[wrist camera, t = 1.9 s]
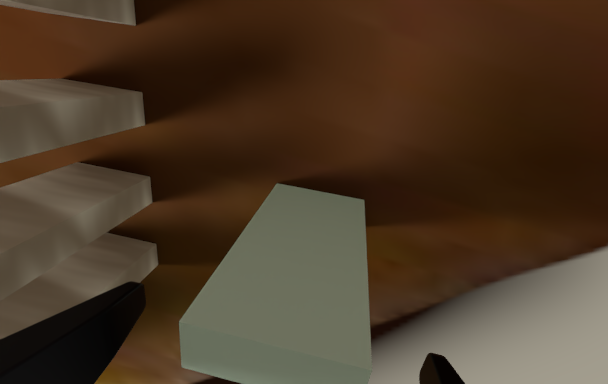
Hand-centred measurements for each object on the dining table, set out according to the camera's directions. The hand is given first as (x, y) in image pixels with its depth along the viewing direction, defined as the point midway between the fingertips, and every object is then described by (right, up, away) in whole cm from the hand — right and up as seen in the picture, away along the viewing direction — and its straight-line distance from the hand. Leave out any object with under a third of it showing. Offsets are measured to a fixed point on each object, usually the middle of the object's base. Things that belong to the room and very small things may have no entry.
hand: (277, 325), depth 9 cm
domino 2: (-11, +5, +10) cm, 16 cm away
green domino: (+2, +3, +8) cm, 9 cm away
